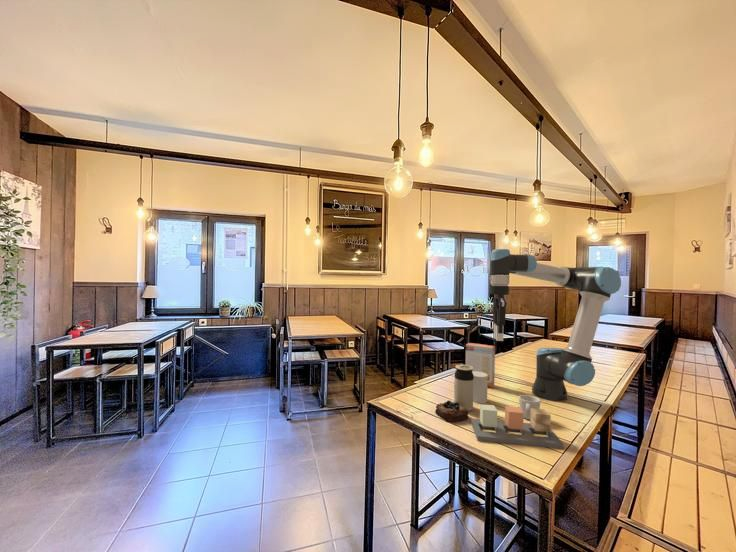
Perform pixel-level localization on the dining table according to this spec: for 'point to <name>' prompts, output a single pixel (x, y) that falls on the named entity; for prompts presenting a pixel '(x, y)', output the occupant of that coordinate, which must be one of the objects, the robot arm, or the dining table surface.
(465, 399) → the travel mug
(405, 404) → the dining table surface
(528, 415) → the cup
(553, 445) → the board
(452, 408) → the pastry
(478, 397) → the white cylindrical canister
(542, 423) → the oak block
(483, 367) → the cracker box
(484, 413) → the sage block
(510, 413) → the terracotta block
